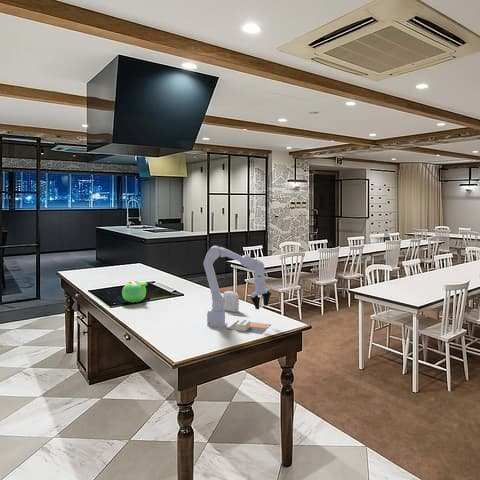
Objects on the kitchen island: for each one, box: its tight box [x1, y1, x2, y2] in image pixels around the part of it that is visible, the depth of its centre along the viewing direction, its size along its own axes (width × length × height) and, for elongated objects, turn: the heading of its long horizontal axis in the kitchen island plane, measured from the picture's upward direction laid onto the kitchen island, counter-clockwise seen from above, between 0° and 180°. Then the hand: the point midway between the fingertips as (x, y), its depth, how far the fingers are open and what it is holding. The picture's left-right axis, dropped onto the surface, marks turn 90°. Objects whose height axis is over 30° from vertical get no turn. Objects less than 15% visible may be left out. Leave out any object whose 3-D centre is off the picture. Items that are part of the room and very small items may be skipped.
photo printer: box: [222, 290, 240, 313], centre depth 250 cm, size 10×4×12 cm, turn 61°
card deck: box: [236, 319, 251, 332], centre depth 215 cm, size 5×8×4 cm, turn 159°
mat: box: [226, 320, 272, 335], centre depth 218 cm, size 20×17×1 cm
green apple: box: [121, 280, 148, 304], centre depth 270 cm, size 18×17×15 cm
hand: (261, 307), depth 220 cm, fingers open, 7 cm apart
